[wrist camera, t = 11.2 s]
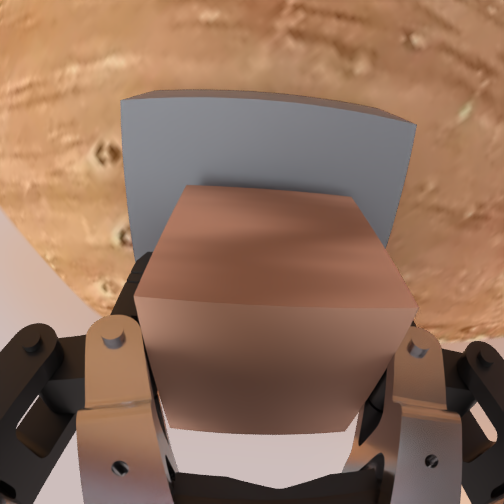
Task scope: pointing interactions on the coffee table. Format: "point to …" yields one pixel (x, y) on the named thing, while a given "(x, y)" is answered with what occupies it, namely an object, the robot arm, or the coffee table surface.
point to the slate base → (258, 152)
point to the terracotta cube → (269, 311)
